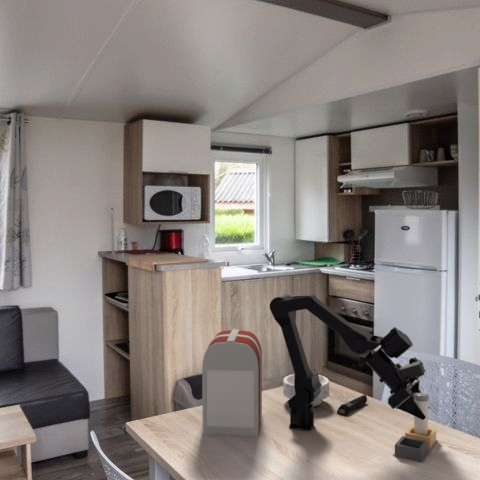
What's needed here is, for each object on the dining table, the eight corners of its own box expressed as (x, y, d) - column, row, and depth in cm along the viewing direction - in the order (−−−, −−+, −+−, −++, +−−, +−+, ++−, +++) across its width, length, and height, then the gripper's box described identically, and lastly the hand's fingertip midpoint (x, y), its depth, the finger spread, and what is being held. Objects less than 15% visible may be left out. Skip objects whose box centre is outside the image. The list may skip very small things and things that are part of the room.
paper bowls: (285, 411, 178) (285, 386, 178) (281, 395, 194) (281, 372, 193) (332, 410, 179) (333, 386, 178) (325, 395, 194) (325, 372, 193)
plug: (415, 444, 150) (416, 397, 149) (411, 439, 154) (412, 392, 153) (429, 445, 150) (430, 397, 149) (425, 439, 154) (426, 392, 153)
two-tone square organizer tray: (422, 467, 139) (422, 451, 139) (392, 459, 144) (392, 444, 143) (438, 444, 153) (438, 430, 153) (410, 438, 157) (410, 424, 157)
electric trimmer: (370, 404, 185) (370, 395, 185) (346, 417, 174) (346, 407, 174) (360, 402, 188) (360, 393, 188) (335, 414, 176) (335, 404, 176)
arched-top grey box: (262, 413, 176) (262, 328, 175) (259, 436, 159) (259, 342, 157) (210, 412, 178) (210, 327, 176) (201, 434, 160) (200, 341, 159)
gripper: (401, 358, 144) (446, 407, 140) (412, 343, 161) (452, 386, 157) (370, 384, 148) (412, 432, 144) (383, 366, 164) (422, 409, 160)
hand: (426, 413), depth 151 cm, fingers open, 8 cm apart
